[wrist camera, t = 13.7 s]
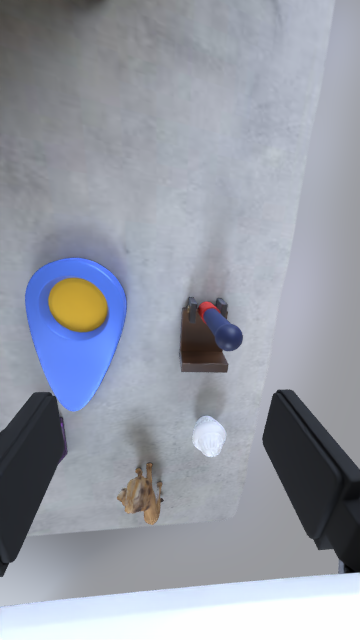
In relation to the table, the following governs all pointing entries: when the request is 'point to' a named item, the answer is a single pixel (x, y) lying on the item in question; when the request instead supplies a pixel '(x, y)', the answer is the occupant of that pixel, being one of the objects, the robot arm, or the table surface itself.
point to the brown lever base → (200, 341)
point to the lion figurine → (142, 496)
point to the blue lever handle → (220, 327)
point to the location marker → (75, 325)
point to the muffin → (208, 436)
